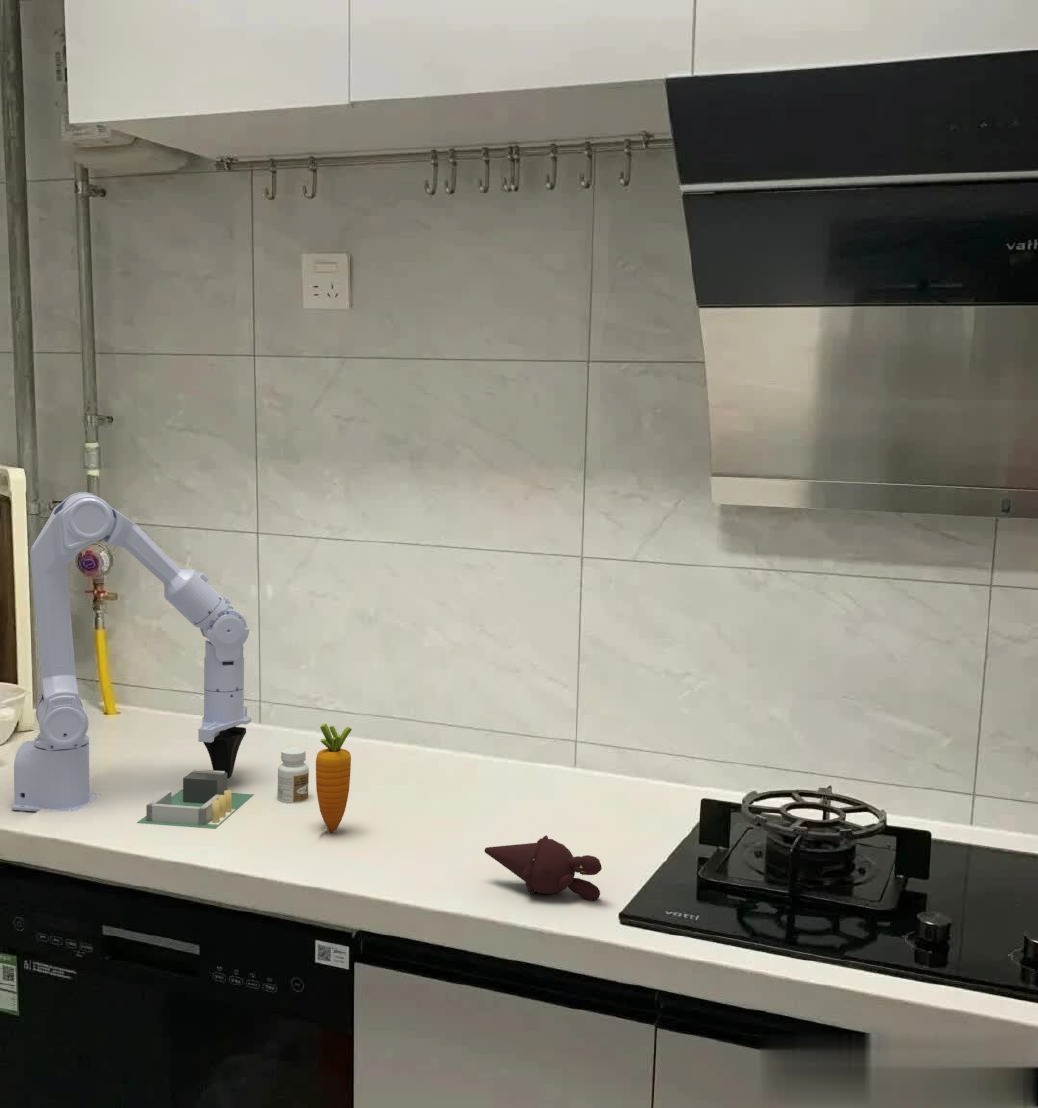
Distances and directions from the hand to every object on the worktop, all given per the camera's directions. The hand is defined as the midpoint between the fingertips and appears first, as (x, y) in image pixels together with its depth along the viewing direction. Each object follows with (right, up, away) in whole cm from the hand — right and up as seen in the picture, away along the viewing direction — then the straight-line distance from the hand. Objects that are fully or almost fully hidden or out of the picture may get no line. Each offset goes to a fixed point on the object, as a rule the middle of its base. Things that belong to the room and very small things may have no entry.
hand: (223, 777), depth 174 cm
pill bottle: (+11, -3, -5) cm, 13 cm away
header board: (-1, -3, -11) cm, 11 cm away
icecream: (+47, -7, -35) cm, 59 cm away
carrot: (+19, -4, -17) cm, 26 cm away
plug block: (-1, -2, -7) cm, 7 cm away
